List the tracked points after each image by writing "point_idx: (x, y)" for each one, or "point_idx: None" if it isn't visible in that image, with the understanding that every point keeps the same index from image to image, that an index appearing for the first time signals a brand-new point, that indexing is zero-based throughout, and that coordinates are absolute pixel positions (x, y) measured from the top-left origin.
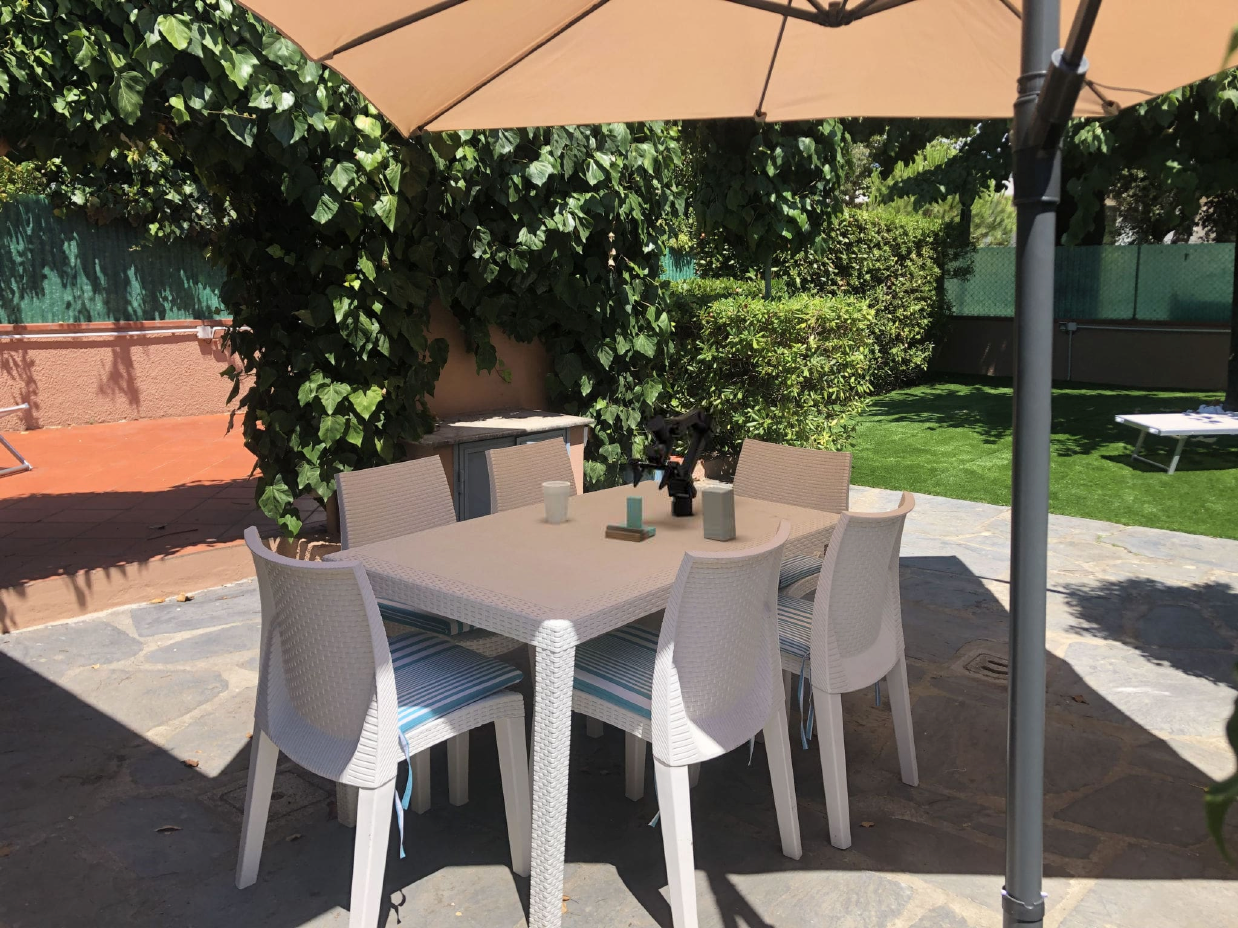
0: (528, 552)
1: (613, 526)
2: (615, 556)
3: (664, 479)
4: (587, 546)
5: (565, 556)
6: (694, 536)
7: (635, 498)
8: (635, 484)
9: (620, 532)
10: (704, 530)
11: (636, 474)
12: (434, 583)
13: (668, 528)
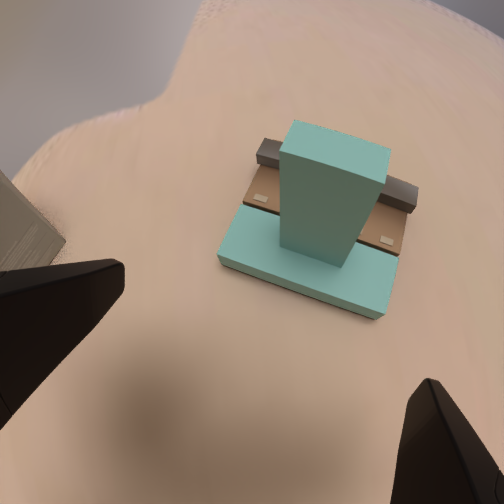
0: (475, 87)
1: (390, 181)
2: (303, 56)
3: (6, 272)
4: (403, 112)
5: (402, 59)
6: (87, 258)
7: (320, 127)
8: (423, 405)
9: None
10: (50, 227)
11: (482, 502)
12: (459, 17)
13: (175, 388)
